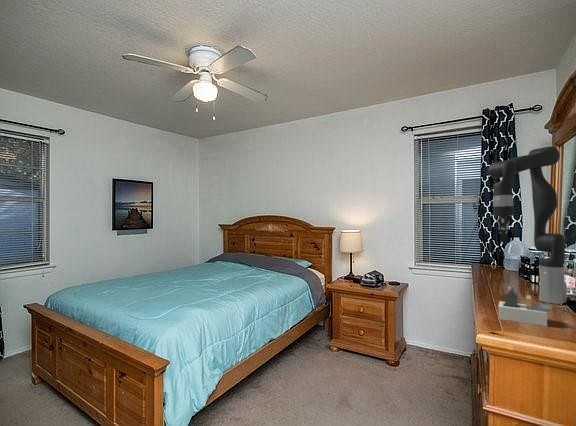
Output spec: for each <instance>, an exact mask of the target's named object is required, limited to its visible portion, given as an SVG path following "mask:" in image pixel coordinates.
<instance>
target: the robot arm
mask: <svg viewBox="0 0 576 426" xmlns="http://www.w3.org/2000/svg"><path fill="white" fill-rule="evenodd" d="M560 157H561V155H560V151H559V149H558V148H557V147H555V146H544V147H539V148H534V149H531V150H530V151H528V154H526V155H521V156H516V157H513V158H510V159H507V160H502V161H497V162H492V163H491V164H490V165H489V167H488V168H487V172H488V175H489V176H490V177H491V178H495V179H497V178H502V179H501V180H500V181H498V182H496V183H493V187H492V188H493V189H492V190H493V192H492V194H493V196H492V197H493V198H492V216H493V217H499V219H498V220H497V225H498V230H499V234H500V235H499V236H500V237H499V239H500V243H507V242H508V232H509V229H510V228H509V227H510V226H509V225H510V220H509V219H508V218H507V217H513V216H514V197H513V185H514V181H515V177H516V174H518V173H521V172H524V171H528V170H529V175H530V181H531V182H530V183H531V193H532V194H531V195H532V197H531V198H532V206H533V207H532V208H533V216H534V220H533V221H534V224H533V225H534V226H533V227H534V228H533V229H534V230H533V243H534V244H533V245H534V248H535V250H536V251H538V252H542V253H551V255H550V257H547V258H542V259H540V260H539V261H538V266H539V267H538V270H539V300H540V301H542V302H544V303H547V304H548V303H549V304H554V305H555V304H556V305H563V303H565V301H566V300H567V301H568V299H567V298H568V296H567V294H568V293H567V283H566V282H565V260H566V254H565V253H566V240H565V236H564V235H563V234H561V233H556V232H555V233H550V232H548V233H547V231H546V228H547V223H548V222H549V221H550V218H551V217H552V216H553V215H554V213H555V211H556V209H557V208H558V196H557V195H558V194H557V191H556V190H555V188H554V187H553V186H552V184H551V183H550V182H549V181H547V179H546V178H545V176H544V173H543V168H545V167H549V166H554V165H555V164H557V163H558V162H559V161H560ZM565 304H566V303H565Z"/></svg>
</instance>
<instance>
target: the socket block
mask: <svg viewBox="0 0 576 426" xmlns="http://www.w3.org/2000/svg"><path fill="white" fill-rule="evenodd" d="M498 320H504V321H508V322H515V323H523V324H528V325H529V324H530V325H536V326H541V327H542V326H543V327H548V312H546V311H538V310H531V309H527V306H526V304H525V303H518V308H516V307H508V306H505V301H501V300H499V302H498Z"/></svg>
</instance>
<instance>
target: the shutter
mask: <svg viewBox="0 0 576 426" xmlns="http://www.w3.org/2000/svg"><path fill="white" fill-rule="evenodd" d="M525 299H526V300H525V302H526V306H527V309H531V310H538V311H546V312H547V313H550V312H551V308H550V305H549V304H540V303H533V302H532V296H531V295H530V294H528V295H527V294H526V296H525Z"/></svg>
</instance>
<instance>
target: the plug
mask: <svg viewBox="0 0 576 426" xmlns="http://www.w3.org/2000/svg"><path fill="white" fill-rule="evenodd" d="M504 300H505V301H504V302H505V306H508V307H516V308H518V304H519V301H518V292H515V287H514V286H508V290H507V291H504Z"/></svg>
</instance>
